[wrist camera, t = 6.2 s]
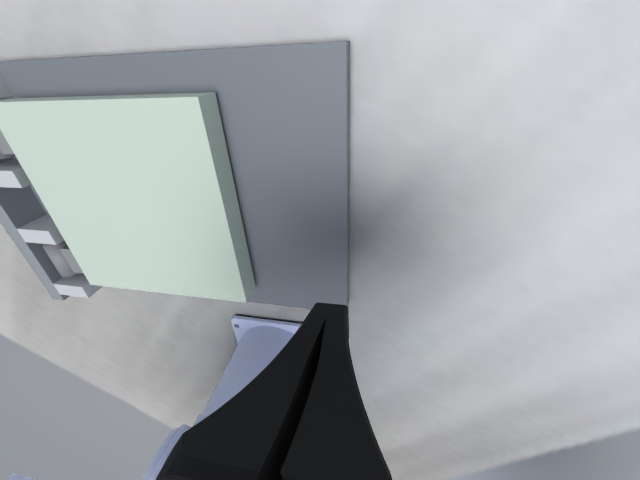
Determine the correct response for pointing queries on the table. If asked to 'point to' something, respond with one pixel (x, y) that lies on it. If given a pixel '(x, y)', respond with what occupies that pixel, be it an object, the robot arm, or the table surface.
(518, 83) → the table surface
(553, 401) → the table surface
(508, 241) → the table surface
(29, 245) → the jig board
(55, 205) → the door
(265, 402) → the robot arm
